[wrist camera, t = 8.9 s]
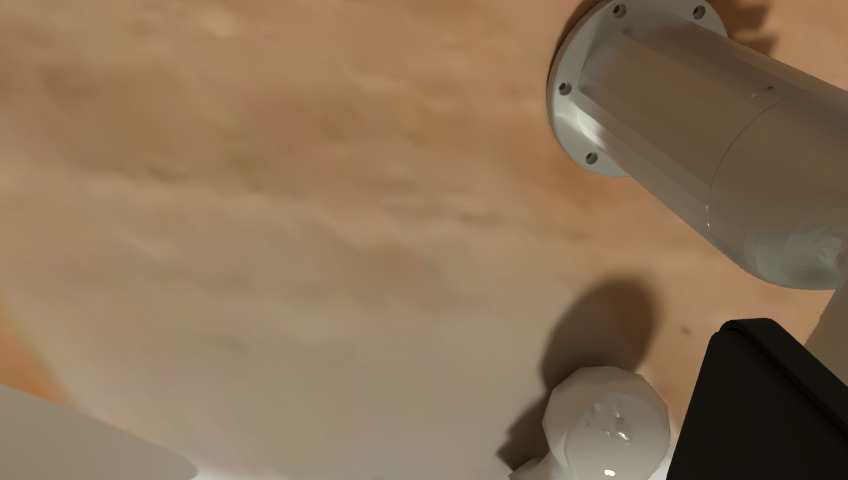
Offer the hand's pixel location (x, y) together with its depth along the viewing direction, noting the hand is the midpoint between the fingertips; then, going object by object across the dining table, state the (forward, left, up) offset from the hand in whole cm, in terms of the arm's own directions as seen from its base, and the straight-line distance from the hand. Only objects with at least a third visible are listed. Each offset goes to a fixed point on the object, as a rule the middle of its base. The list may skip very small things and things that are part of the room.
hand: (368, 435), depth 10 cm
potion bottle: (-26, +36, -37) cm, 58 cm away
